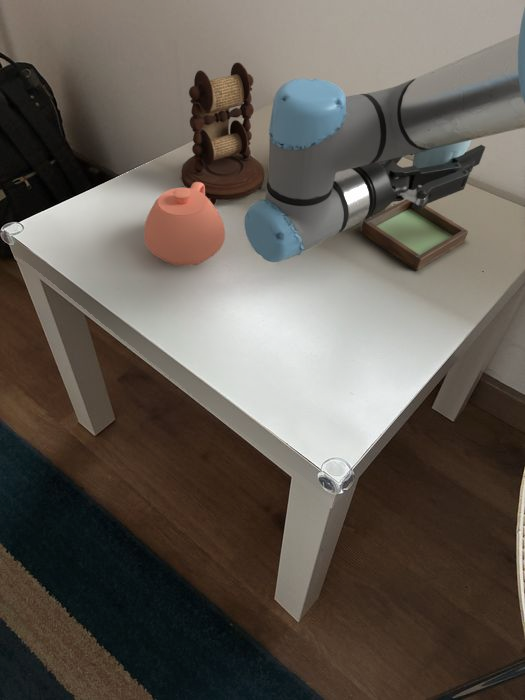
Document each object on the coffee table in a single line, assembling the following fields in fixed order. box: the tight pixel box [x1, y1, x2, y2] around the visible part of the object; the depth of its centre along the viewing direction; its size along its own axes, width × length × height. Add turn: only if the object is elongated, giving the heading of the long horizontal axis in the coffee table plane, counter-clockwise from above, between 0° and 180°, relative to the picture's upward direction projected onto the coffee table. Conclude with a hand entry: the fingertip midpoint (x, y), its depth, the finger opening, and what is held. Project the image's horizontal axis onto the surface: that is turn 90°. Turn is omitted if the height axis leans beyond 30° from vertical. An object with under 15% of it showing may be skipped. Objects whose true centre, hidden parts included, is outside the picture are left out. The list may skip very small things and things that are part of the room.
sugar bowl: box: [143, 182, 226, 267], centre depth 82 cm, size 12×14×10 cm
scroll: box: [180, 62, 265, 206], centre depth 90 cm, size 15×15×20 cm
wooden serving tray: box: [360, 199, 469, 272], centre depth 88 cm, size 12×12×2 cm
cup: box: [411, 140, 472, 168], centre depth 79 cm, size 8×8×10 cm
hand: (459, 143), depth 80 cm, fingers closed on cup, 7 cm apart
